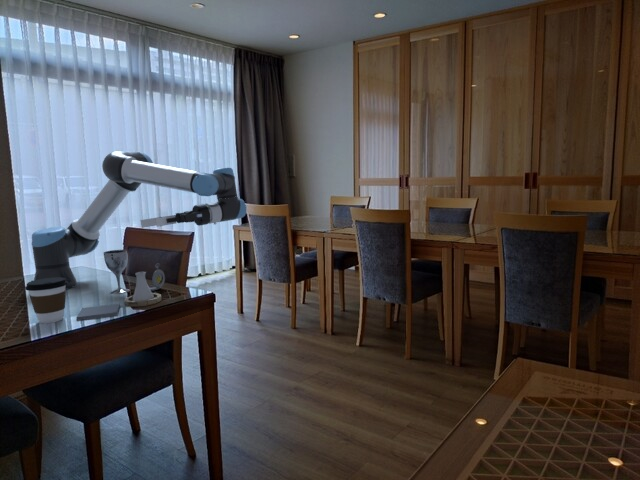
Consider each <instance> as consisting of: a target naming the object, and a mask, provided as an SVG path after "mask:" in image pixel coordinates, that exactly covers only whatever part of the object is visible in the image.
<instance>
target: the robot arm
mask: <svg viewBox="0 0 640 480" xmlns="http://www.w3.org/2000/svg"><path fill="white" fill-rule="evenodd" d="M101 167H102V172H103V173H104V175H105V177H107V179H108V181H107V182H106V184H105V185H104V186H103V187H102V189H101V191H99V193H98V194H97V196H96V197H95V198H94V199H93V201H91V203H90V205H89V206H88V207H87V209H86V210H85V211H84V213H83V214H81V217H80V218H76V219H73V220H72V222H71V223H70V224H69V226H68V227H66V228H65V227H63V226H54V227H48V228H43V229H39V230H37V231H34V232H33V233H32V234H31V248H32V253H33V260H34V265H35V266H34V268H35V273H34V277H33V281H34V280H39V279H44V278H54V277H63V278H65V279H66V281H68V284H67V285H65V290H70V289H72V288H75V287H77V285H78V283H77V278H76V276H75V274H74V272H73V271H72V268H71V267H70V265H71V264H70V258H74V257H79V256H84V255H87V254H89V253H92V252H93V251H94V250H95V249H97V247H98V245H99V242H100V241H99V239H100V236H101V235H100V233H101V232H100V230H101V229H102V227H103V226H104V225H105V223H106V222H107V221H108V220H109V218H110V217H111V216H113V214H114V212H115V211H116V210H117V208H118V207H119V206H120V205H121V203H122V202H123V200H124V199H126V197H127V195H129V193H130V192H132V193H133V192H136V190H138V188H139V187H140V185H141V184H146V185H150V186H155V187H161V188H167V189H173V190H177V191H184V192H187V193H189V192H190V193H193V194H196V195H198V196H201V197H212V196H216V198H217V199H216V200H217V201H213V202H206V203H200V204H195V205H194V206H192V210H187V211H183V212H176V213H175V214H174V215H172V214H171V215H167V216H158V217H151V218H145V219H140V225H141V226H140V227H141V229H143V228H151V227H155V226H156V227H163V226H169V225H174V224H177V223H178V224H181V223H182V224H183V223H194V224H195V225H197V226H199V227H200V226H205V225H208V224H209V225H210V224H213V225H217V223H222V222H228V221H234V220H237V219H242V218H244V217H245V216H246V214H247V204H246V202H245V201H244V200H243V198H239V196H238V192H237V191H238V190H237V185H236V177H235V174H234V170H233V168H232V167H222V168H221V167H219V168H216V169H215V168H214V170H213V171H212V173H206V172H201V171H195V170H191V169H190V170H189V169H185V168H179V167H173V166H169V165H162V164H156V163H154V161H153V160H152V159H151V157H150V156H149V155H147V154H146V153H144V152H140V151H123V150H121V151H120V150H116V151H113V152H109V153H108V154H106V156H105V157H104V159H103V161H102V165H101Z"/></svg>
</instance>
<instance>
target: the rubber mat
mask: <svg viewBox="0 0 640 480" xmlns="http://www.w3.org/2000/svg"><path fill="white" fill-rule="evenodd" d="M120 308H121V303H119V302H118V303H114V304H113V303H112V304H105V305H96V306H95V305H94V306H87V307H82V308H81V309H80V311H79V312H78V315H76V321H83V320H84V321H85V320H91V319H92V320H93V319H99V318H107V317H108V318H109V317H114V316H118V314H119V311H120Z"/></svg>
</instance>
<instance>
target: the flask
mask: <svg viewBox="0 0 640 480" xmlns="http://www.w3.org/2000/svg"><path fill="white" fill-rule="evenodd" d="M134 273H135V274H134V275H135V276H136V281H135V282H136V284H135V289H134V292H133V295H134V296H133V295H132V296H133V299H132V301H143V300H149V299H153V298H154V296H153V294H152V293H153V291H151V290H150V288H149V286H150V285H149V284H148V282H147V279H146V274H147V271H138V272H134Z"/></svg>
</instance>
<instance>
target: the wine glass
mask: <svg viewBox="0 0 640 480" xmlns="http://www.w3.org/2000/svg"><path fill="white" fill-rule="evenodd" d="M128 257H129V255H128V250H127V249H114V250H108V251H104V252H103V259H104V263H105V266H106V267H107V270H109V271H110V272H111V273H112V274H113V275H114V276H115V277H116V283H117V288H116V289H114V290H111V291H109V294H111V295H118V294H125V293H128V292H130V291H131V290H130V289H128V288H122V287H121V275H122V273H123V272H124V270H125V269H126V267H127V265H128V260H129V259H128Z"/></svg>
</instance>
